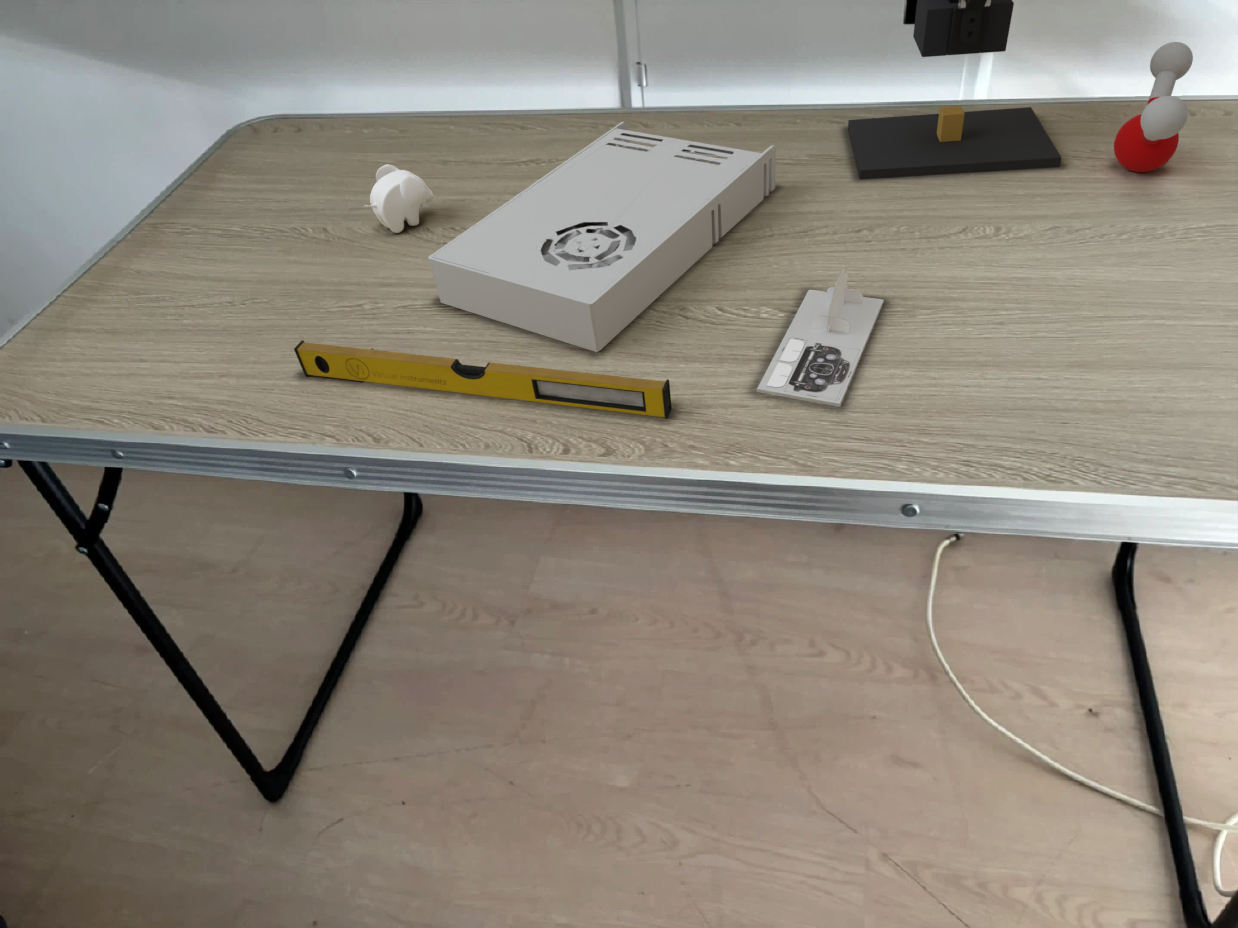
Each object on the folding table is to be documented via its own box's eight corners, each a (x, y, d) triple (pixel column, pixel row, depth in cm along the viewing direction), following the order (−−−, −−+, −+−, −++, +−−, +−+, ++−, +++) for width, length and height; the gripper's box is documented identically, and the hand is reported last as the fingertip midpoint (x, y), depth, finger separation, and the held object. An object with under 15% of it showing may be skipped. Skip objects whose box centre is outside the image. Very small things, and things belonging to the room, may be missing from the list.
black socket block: (993, 30, 95) (1000, -17, 92) (1005, 51, 91) (1014, 2, 88) (913, 36, 96) (918, -10, 93) (921, 57, 92) (927, 9, 89)
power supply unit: (776, 189, 98) (776, 143, 95) (598, 354, 79) (591, 304, 76) (629, 161, 107) (624, 119, 104) (439, 303, 88) (426, 257, 85)
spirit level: (305, 376, 82) (293, 348, 80) (313, 367, 83) (301, 339, 81) (667, 420, 72) (664, 389, 70) (672, 409, 73) (669, 379, 71)
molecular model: (1163, 213, 86) (1197, 107, 80) (1098, 206, 88) (1125, 102, 82) (1174, 135, 97) (1204, 36, 91) (1116, 130, 100) (1141, 33, 93)
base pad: (1029, 117, 104) (1036, 79, 102) (1059, 168, 95) (1068, 128, 92) (847, 129, 107) (849, 93, 104) (859, 180, 98) (862, 142, 95)
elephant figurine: (452, 219, 101) (440, 167, 97) (388, 247, 98) (372, 195, 94) (422, 200, 105) (409, 150, 101) (360, 227, 102) (344, 176, 98)
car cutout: (808, 293, 83) (810, 248, 80) (883, 303, 80) (888, 258, 77) (756, 393, 73) (756, 346, 70) (840, 408, 71) (843, 361, 68)
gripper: (1060, -163, 74) (1017, 66, 87) (1012, -197, 87) (981, 7, 99) (963, -153, 75) (934, 72, 88) (930, -189, 88) (909, 12, 100)
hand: (959, 35), depth 93 cm, fingers closed on black socket block, 6 cm apart
